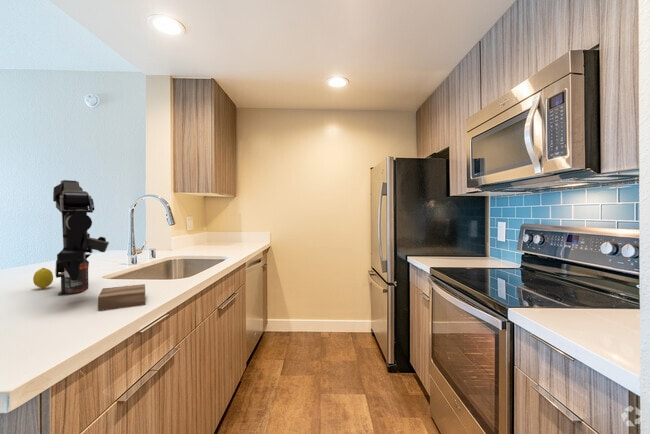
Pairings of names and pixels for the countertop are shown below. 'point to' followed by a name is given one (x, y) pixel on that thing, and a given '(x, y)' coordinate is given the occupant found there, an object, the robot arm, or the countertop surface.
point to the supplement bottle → (81, 280)
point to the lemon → (43, 278)
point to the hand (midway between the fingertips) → (76, 278)
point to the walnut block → (121, 297)
